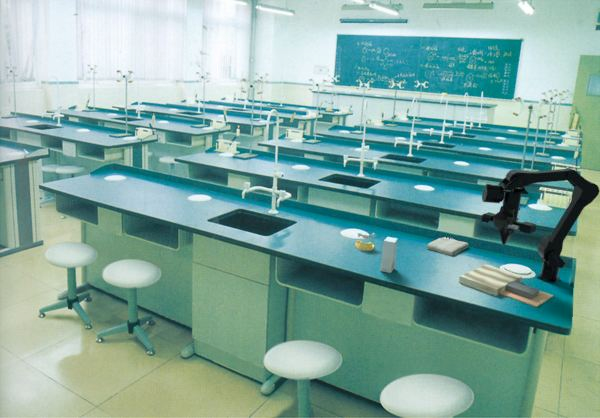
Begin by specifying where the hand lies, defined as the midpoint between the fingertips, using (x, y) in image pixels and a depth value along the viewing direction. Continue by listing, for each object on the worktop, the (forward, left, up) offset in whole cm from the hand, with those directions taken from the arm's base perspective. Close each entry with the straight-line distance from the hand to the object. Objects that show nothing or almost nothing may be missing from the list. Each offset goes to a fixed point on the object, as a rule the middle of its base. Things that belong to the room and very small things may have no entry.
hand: (503, 244), depth 187 cm
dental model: (+21, -49, -12) cm, 55 cm away
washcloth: (-10, -28, -13) cm, 32 cm away
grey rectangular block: (+11, +14, -12) cm, 21 cm away
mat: (+11, +15, -12) cm, 22 cm away
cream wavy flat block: (+11, +2, -12) cm, 16 cm away
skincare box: (+33, -28, -12) cm, 45 cm away
